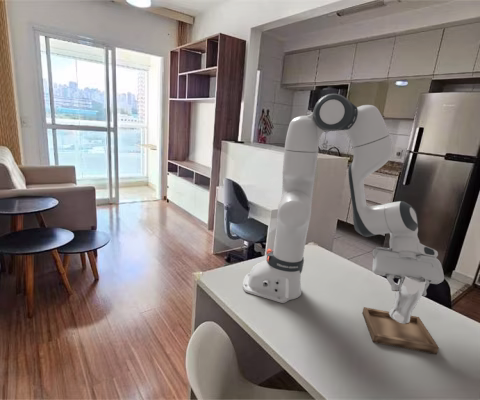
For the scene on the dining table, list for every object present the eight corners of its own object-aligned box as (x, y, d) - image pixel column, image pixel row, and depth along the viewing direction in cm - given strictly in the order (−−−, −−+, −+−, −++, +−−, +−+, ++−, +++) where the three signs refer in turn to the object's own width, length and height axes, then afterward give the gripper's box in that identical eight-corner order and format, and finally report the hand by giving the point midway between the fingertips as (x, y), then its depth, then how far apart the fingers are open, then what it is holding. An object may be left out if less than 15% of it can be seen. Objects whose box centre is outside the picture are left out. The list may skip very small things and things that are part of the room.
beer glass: (414, 328, 88) (431, 285, 84) (390, 321, 90) (405, 278, 86) (407, 314, 95) (422, 274, 91) (384, 308, 96) (398, 268, 92)
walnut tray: (372, 342, 88) (374, 335, 88) (362, 313, 102) (363, 307, 101) (436, 354, 86) (438, 347, 85) (416, 323, 99) (418, 317, 99)
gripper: (375, 242, 95) (377, 284, 88) (443, 252, 92) (450, 296, 85) (368, 249, 100) (370, 289, 93) (432, 258, 97) (438, 301, 91)
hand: (408, 293), depth 89 cm, fingers closed on beer glass, 6 cm apart
